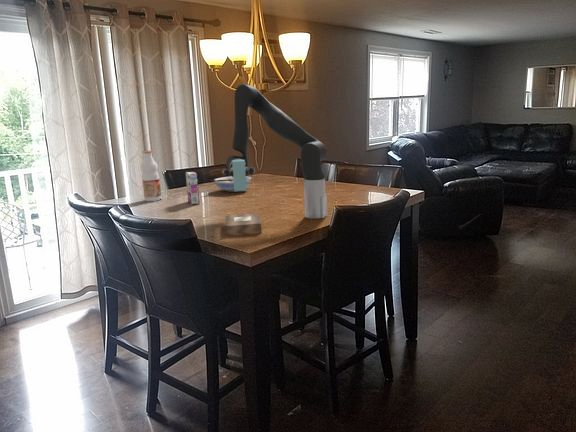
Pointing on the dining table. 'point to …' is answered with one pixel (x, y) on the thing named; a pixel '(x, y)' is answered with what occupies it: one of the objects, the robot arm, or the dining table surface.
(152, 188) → the fruit juice
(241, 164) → the column
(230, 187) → the ramen bowl
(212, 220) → the dining table surface
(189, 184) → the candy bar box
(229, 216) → the plinth
